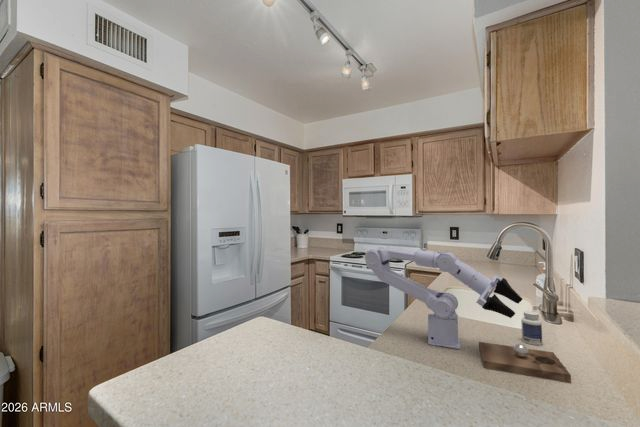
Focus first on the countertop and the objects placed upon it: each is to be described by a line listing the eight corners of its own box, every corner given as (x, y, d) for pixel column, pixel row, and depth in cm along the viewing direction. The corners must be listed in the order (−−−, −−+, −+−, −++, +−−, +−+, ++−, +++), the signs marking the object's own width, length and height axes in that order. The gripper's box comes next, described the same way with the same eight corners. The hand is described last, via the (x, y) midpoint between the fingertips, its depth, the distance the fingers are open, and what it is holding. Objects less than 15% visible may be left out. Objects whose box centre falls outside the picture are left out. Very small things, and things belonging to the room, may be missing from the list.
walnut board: (483, 367, 78) (483, 360, 78) (479, 348, 90) (478, 341, 90) (572, 383, 70) (571, 375, 70) (554, 359, 82) (553, 352, 82)
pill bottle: (546, 346, 91) (544, 315, 91) (527, 345, 92) (526, 314, 92) (536, 339, 96) (535, 310, 96) (519, 338, 97) (518, 309, 97)
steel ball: (515, 358, 79) (514, 345, 79) (512, 352, 82) (512, 340, 83) (530, 360, 78) (530, 347, 78) (527, 355, 81) (526, 342, 81)
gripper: (469, 282, 83) (517, 314, 76) (486, 260, 92) (531, 287, 85) (459, 296, 88) (503, 328, 81) (476, 274, 96) (517, 301, 90)
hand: (516, 308), depth 83 cm, fingers open, 7 cm apart
